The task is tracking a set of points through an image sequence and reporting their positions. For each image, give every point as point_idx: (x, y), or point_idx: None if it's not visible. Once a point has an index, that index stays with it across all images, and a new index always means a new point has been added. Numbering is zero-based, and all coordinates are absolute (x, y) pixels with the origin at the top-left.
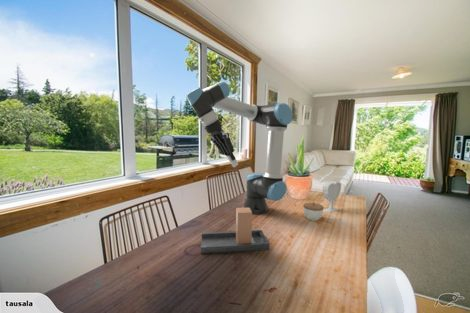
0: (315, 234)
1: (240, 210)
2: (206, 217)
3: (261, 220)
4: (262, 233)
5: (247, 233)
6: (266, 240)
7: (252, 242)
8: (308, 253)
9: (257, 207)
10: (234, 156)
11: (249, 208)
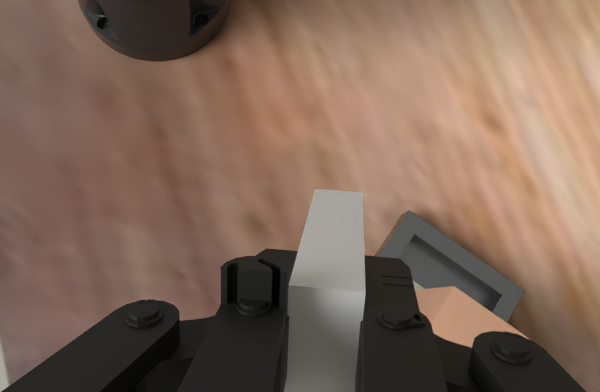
0: (540, 33)
1: None
2: (30, 294)
3: (286, 86)
4: (438, 234)
5: None
6: (496, 274)
7: None
8: None
9: (198, 8)
10: (411, 282)
11: (468, 300)
